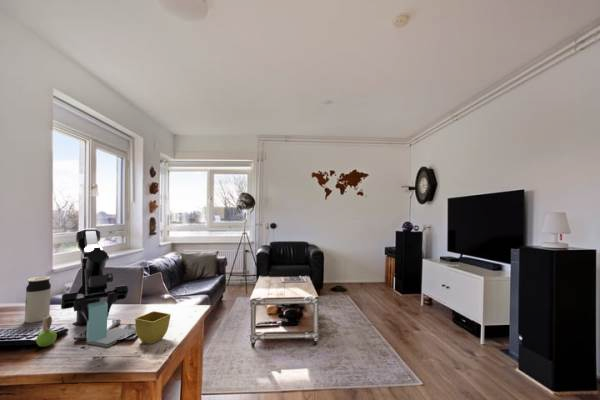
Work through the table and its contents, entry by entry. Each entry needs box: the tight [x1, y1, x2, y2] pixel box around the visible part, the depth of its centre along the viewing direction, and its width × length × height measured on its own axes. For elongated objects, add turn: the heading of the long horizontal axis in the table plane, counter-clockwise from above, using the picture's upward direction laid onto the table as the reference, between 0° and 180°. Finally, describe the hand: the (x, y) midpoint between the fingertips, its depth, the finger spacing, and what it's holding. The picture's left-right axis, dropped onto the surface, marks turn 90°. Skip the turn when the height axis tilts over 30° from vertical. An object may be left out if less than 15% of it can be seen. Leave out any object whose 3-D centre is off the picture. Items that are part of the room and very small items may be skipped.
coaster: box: [85, 326, 136, 348], centre depth 108 cm, size 10×12×1 cm
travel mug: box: [24, 276, 52, 324], centre depth 125 cm, size 8×8×18 cm
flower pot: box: [134, 310, 171, 345], centre depth 107 cm, size 9×9×9 cm
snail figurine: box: [35, 315, 58, 348], centre depth 101 cm, size 5×6×12 cm
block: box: [86, 300, 108, 342], centre depth 96 cm, size 5×5×11 cm
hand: (97, 318), depth 95 cm, fingers closed on block, 5 cm apart
